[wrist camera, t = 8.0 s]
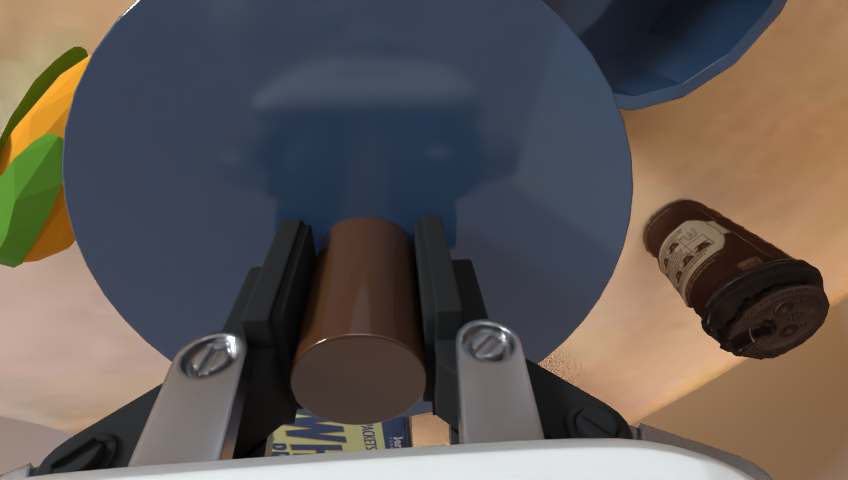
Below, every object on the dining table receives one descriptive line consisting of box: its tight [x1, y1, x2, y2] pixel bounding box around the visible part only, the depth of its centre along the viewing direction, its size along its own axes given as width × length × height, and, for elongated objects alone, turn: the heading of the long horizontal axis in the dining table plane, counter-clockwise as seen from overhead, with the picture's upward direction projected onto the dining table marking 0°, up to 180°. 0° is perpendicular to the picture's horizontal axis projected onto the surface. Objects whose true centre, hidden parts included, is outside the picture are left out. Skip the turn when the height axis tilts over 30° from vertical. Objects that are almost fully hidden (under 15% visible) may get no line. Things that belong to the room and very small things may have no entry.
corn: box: [0, 47, 92, 268], centre depth 28 cm, size 7×8×20 cm
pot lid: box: [62, 0, 633, 425], centre depth 11 cm, size 16×16×6 cm
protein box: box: [271, 414, 413, 457], centre depth 35 cm, size 10×16×16 cm
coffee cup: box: [643, 199, 830, 360], centre depth 34 cm, size 9×8×13 cm
